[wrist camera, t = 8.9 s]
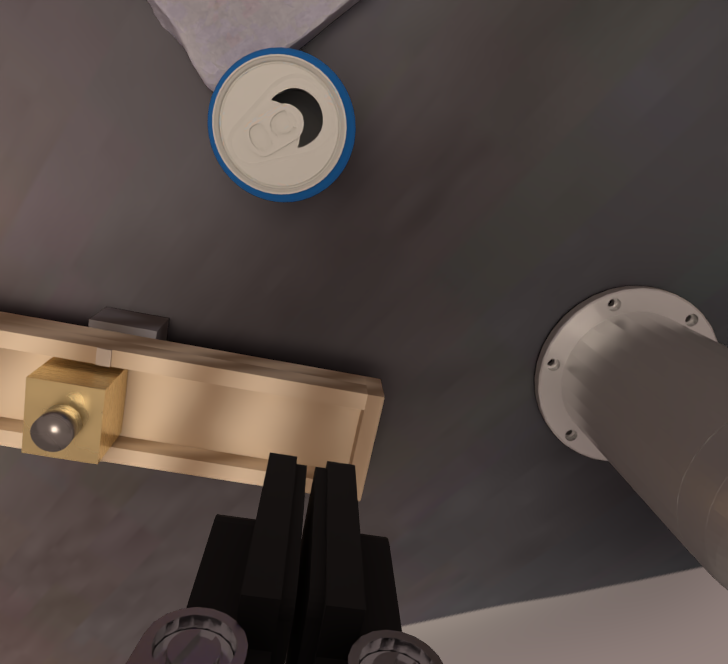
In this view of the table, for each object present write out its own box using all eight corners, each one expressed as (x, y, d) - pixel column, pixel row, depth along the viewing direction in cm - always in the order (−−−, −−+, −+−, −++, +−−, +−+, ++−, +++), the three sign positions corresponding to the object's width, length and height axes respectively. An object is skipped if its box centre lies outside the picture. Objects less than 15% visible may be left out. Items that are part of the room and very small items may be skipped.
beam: (378, 356, 42) (386, 390, 36) (354, 460, 44) (358, 509, 38) (-125, 264, 38) (-207, 285, 32) (-124, 383, 40) (-201, 423, 34)
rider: (129, 364, 36) (94, 401, 31) (121, 431, 37) (87, 478, 32) (58, 352, 36) (11, 387, 30) (53, 420, 37) (7, 466, 32)
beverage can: (367, 155, 38) (383, 158, 26) (276, 206, 38) (254, 231, 27) (314, 54, 36) (307, 10, 25) (220, 110, 37) (170, 92, 25)
